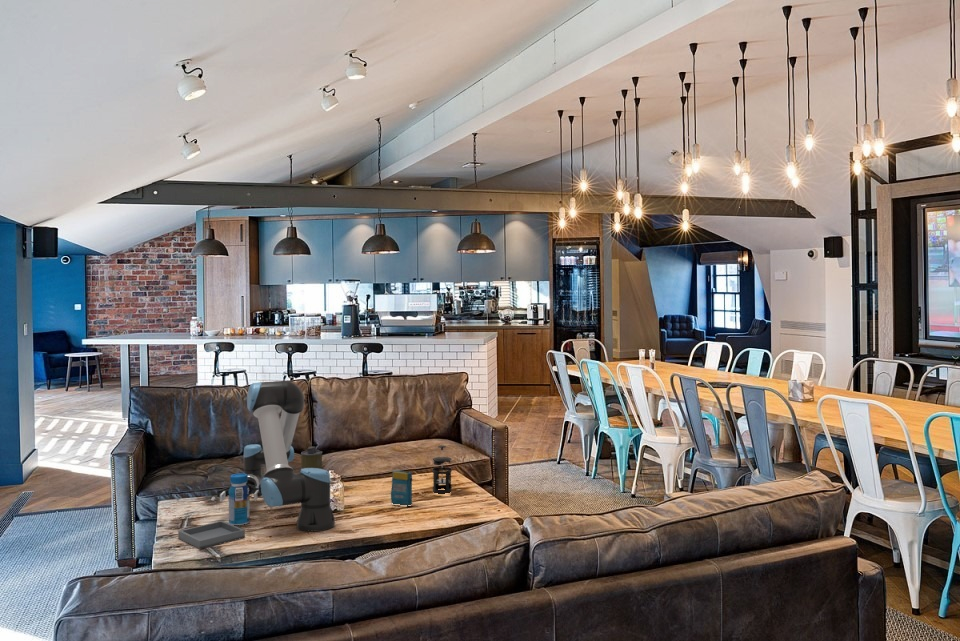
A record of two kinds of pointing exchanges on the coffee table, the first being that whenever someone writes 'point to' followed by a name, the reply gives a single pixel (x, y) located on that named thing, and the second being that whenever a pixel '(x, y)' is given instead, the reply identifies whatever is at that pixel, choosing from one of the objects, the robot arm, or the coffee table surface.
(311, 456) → the canister
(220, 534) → the tray
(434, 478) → the french press
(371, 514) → the coffee table surface
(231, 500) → the beverage bottle
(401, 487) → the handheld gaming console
